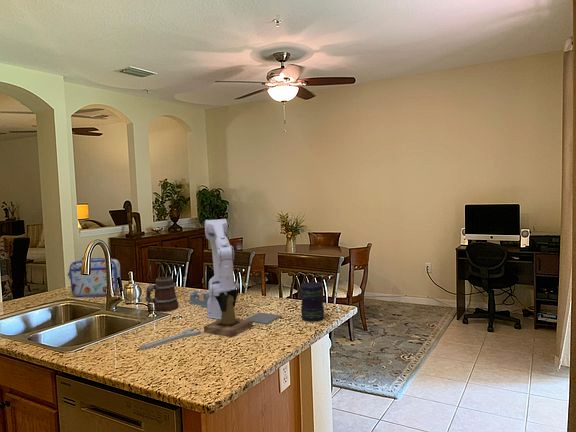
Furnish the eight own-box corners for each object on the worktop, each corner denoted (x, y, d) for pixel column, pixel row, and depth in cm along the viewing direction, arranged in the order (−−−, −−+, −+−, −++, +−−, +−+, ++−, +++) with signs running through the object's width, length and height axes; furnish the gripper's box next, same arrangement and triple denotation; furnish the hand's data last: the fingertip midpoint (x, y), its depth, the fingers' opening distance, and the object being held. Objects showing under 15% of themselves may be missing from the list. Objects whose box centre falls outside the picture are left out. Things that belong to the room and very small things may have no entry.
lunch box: (66, 298, 237) (63, 259, 236) (74, 294, 248) (72, 256, 246) (117, 296, 239) (114, 257, 237) (123, 292, 249) (121, 254, 248)
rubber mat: (243, 320, 187) (243, 319, 187) (258, 313, 197) (258, 312, 197) (267, 324, 181) (267, 323, 181) (281, 316, 191) (281, 315, 191)
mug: (170, 303, 219) (169, 274, 218) (182, 308, 210) (181, 277, 209) (141, 310, 209) (139, 280, 208) (152, 315, 200) (150, 283, 199)
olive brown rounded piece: (221, 320, 178) (220, 294, 178) (236, 319, 178) (235, 293, 178) (220, 324, 172) (219, 297, 172) (235, 323, 172) (234, 296, 172)
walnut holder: (204, 332, 173) (203, 326, 173) (225, 322, 185) (225, 316, 185) (232, 337, 166) (231, 331, 166) (252, 326, 178) (252, 320, 178)
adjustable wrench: (141, 352, 155) (141, 347, 155) (134, 347, 160) (134, 343, 160) (202, 334, 172) (202, 330, 172) (194, 330, 177) (194, 326, 176)
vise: (221, 304, 216) (220, 291, 216) (204, 308, 209) (203, 295, 208) (200, 298, 228) (199, 286, 228) (183, 302, 221) (183, 290, 221)
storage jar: (309, 313, 194) (308, 281, 193) (328, 317, 188) (327, 283, 187) (297, 319, 186) (295, 285, 185) (316, 323, 180) (315, 288, 179)
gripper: (223, 280, 166) (224, 315, 167) (244, 273, 179) (246, 305, 180) (208, 279, 169) (210, 313, 170) (231, 272, 182) (232, 303, 183)
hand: (227, 309), depth 175 cm, fingers closed on olive brown rounded piece, 5 cm apart
